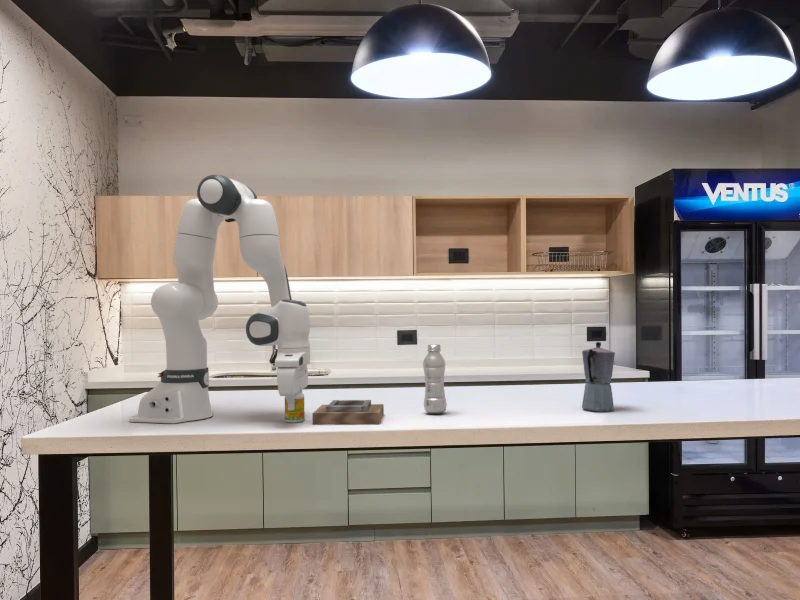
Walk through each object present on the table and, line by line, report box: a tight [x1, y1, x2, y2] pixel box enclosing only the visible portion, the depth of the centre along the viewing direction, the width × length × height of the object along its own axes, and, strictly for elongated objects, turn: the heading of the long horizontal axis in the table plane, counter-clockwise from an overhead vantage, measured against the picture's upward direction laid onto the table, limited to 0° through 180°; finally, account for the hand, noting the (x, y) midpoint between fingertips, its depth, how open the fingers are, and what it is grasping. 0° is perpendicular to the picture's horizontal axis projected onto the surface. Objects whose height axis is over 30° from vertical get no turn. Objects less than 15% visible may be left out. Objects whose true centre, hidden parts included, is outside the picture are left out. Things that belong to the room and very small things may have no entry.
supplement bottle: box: [284, 386, 305, 424], centre depth 157 cm, size 5×5×10 cm
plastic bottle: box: [422, 344, 448, 415], centre depth 165 cm, size 6×7×20 cm
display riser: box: [312, 399, 385, 425], centre depth 158 cm, size 18×14×4 cm
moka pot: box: [581, 341, 616, 412], centre depth 167 cm, size 10×15×20 cm, turn 148°
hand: (294, 407), depth 157 cm, fingers closed on supplement bottle, 5 cm apart
